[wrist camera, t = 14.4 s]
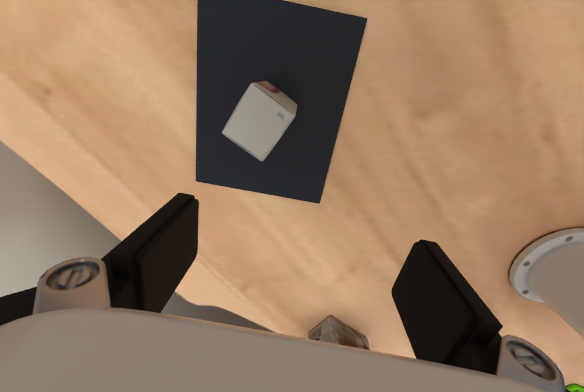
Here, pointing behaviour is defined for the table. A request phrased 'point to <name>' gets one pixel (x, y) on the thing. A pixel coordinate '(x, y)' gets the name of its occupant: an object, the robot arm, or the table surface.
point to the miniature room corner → (575, 388)
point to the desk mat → (284, 76)
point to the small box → (260, 119)
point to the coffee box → (338, 334)
